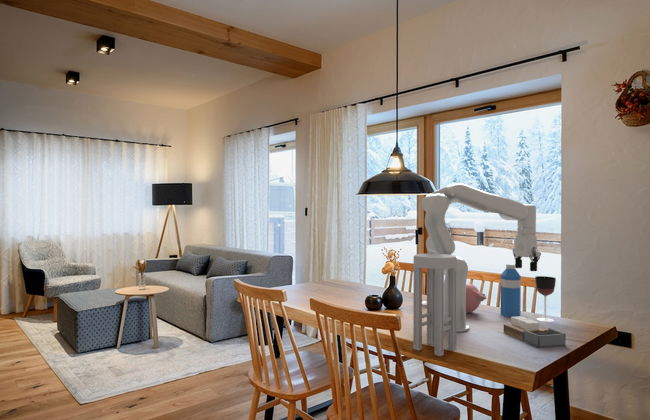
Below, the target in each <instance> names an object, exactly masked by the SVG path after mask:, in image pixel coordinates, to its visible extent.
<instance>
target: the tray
mask: <svg viewBox="0 0 650 420" xmlns="http://www.w3.org/2000/svg"><path fill="white" fill-rule="evenodd" d="M547 330H548V332H546V333H531V332H529V331H526V330H524V334H523V341H522V342H524V343H527V344H529V345H530V346H531V345H532V346H533V347H536V348H538V349H539V348H540V349H542V348H552V347H553V348H554V347H555V348H556V347H565V346H566V342H567V341H566V340H567V338H566V333H564V332H561V331H559V330H557V329H553V328H550V327H548V329H547Z"/></svg>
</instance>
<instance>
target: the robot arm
mask: <svg viewBox="0 0 650 420" xmlns="http://www.w3.org/2000/svg"><path fill="white" fill-rule="evenodd" d="M453 203H458V204H462V205H463V206H467V207H470V208H472V209H475V210H478V211H480V212H484V213H495V214H498V215H499V216H500V218H501V219H503V220H505V221H517V231H516V232H517V233H516V235H515V240H514V248H512V255H513V256H514V260H515V263H514V265H515V269H522V268H523V259H522V258H529V260H530V262H529V271H530V272H537V271H538V263H539V260H540V258H541V255H542V252H541V251H539V250H538V241H537V235H536V232H537V231H536V230H537V228H536V227H537V207H536V205H535V204H532V203H531V204H530V203H529V204H528V203H527V204H524V203H522V202H519V201H516V200H514V199H512V198H508V197H504V196H501V195H497V194H494V193H491V192H487V191H484V190H481V189H478V188H475V187H473V186H471V185H467V184H465V183H460V182H459V183H452V184H449V185H447V186H444V187H442V188H439V189H438V190H435V191H433V192H431V193H428V194H426V195H425V196H423V198H422V200H421V208H422V209H423V211H424V212H425V214H424V215H425V216H424V227H425V230H426V232H427V234H428V237H427V238H426V241H425V246H426V250H427V254H448V255H453V254H454V253H455V250H456V244H455V241H454V239H453V236H452V234H451V233H450V231H449V229H448V226H447V224H446V219H445V218H446V217H445V216H446V213H447V211H448V209H449V207H450V205H451V204H453ZM455 256H456V257H457V278H456V333H463V332H469V330H470V329H471V328H470V326H469V324H467V313H466V282H467V279H468V273H469V266H468V263H467V261H465V259H464V258H462V257H460V256H457V255H455ZM446 317H448V269H444V318H446ZM447 325H448V321H447V322H444V326H447ZM446 331H447V332H448V330H446Z"/></svg>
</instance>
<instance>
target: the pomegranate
mask: <svg viewBox="0 0 650 420" xmlns="http://www.w3.org/2000/svg"><path fill="white" fill-rule="evenodd" d="M484 300H487V296H486V294H485V293H484V292H483V293H481V292H480V290H479V289H478V287H476V285H474V284H472V283H470V282H467V281H466V314H469V313H474V312H475V311H476V310H477V309H478V308H479V306H480V304H481V302H484Z"/></svg>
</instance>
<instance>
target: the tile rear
mask: <svg viewBox="0 0 650 420" xmlns="http://www.w3.org/2000/svg"><path fill="white" fill-rule="evenodd" d="M520 320H530V319H529V318H528V317H524V316H523V315H520V316H517V317H510V324H513V325H515V326H518V327H520Z"/></svg>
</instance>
